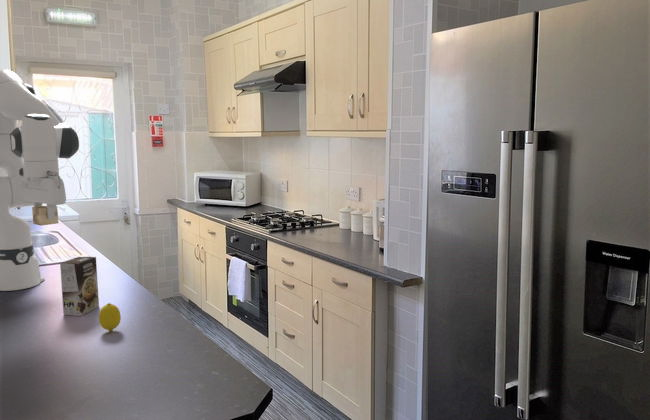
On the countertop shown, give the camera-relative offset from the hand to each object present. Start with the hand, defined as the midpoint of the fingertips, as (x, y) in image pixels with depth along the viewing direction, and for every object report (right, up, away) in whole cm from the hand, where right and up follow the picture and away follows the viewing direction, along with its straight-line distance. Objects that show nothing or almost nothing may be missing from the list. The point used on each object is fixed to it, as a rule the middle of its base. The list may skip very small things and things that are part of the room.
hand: (45, 218), depth 161 cm
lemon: (+23, -31, -10) cm, 40 cm away
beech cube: (0, -2, 0) cm, 2 cm away
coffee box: (+7, -29, +7) cm, 31 cm away
